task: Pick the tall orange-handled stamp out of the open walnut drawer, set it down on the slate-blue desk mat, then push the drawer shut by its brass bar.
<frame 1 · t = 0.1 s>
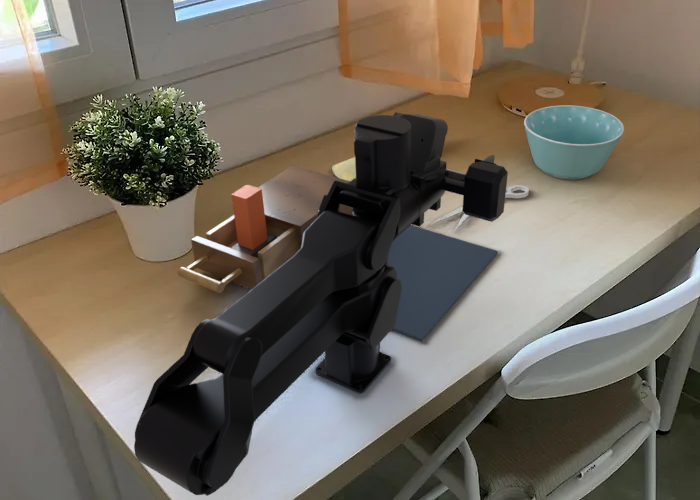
hand: (458, 150, 88), 17 cm above the table, tool horizontal, fingers open, 9 cm apart
scissors: (475, 204, 110), on the table
cabinet: (299, 229, 106), on the table
mat: (412, 276, 94), on the table
drawer: (244, 250, 96), point 3 cm above the table, slide at 8.0 cm, touching stamp
tool: (388, 160, 124), on the table
bowl: (566, 169, 119), on the table
stamp: (254, 251, 98), point 2 cm above the table, touching drawer
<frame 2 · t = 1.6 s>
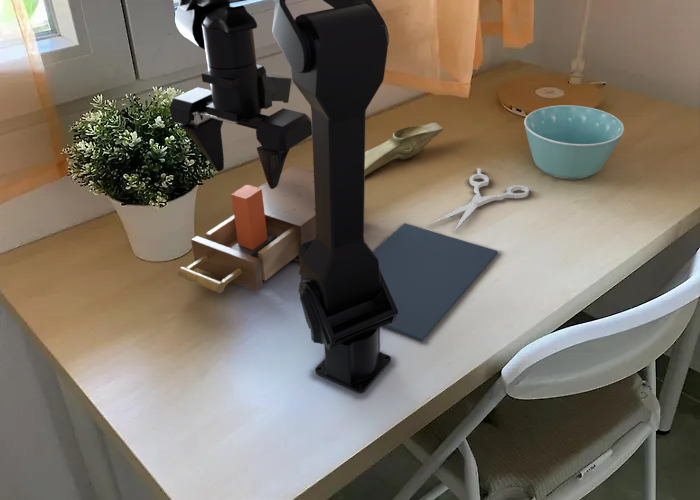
hand: (246, 178, 91), 13 cm above the table, tool pointing down, fingers open, 9 cm apart
nothing on the table moved.
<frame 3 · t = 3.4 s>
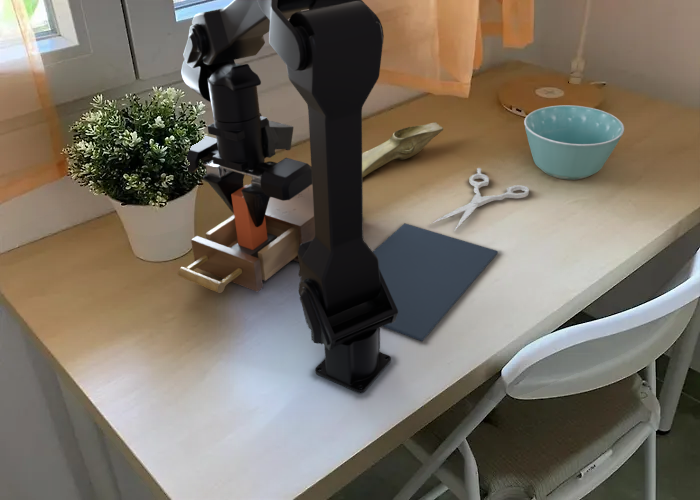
hand: (250, 222, 95), 7 cm above the table, tool pointing down, fingers closed on stamp, 3 cm apart
stamp: (254, 251, 98), point 2 cm above the table, touching drawer, gripper
everything else where it was.
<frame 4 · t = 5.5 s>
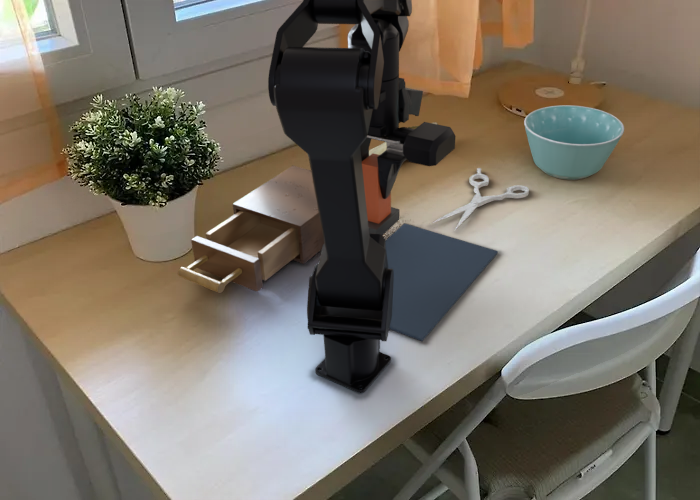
hand: (375, 194, 89), 12 cm above the table, tool pointing down, fingers closed on stamp, 3 cm apart
drawer: (244, 250, 96), point 3 cm above the table, slide at 8.0 cm
stamp: (376, 226, 91), point 7 cm above the table, touching gripper
everything else where it was.
when the fingers open (5 cm above the table, at t = 7.8 s): stamp stays where it is, resting on mat.
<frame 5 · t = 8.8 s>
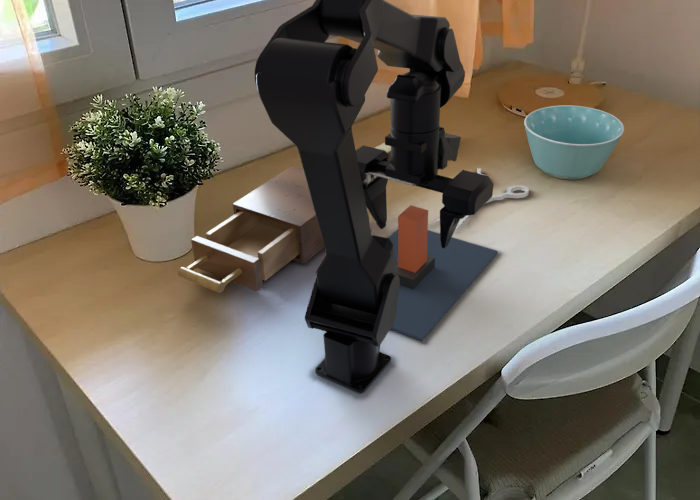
hand: (413, 236, 91), 6 cm above the table, tool pointing down, fingers open, 9 cm apart
stamp: (412, 274, 94), resting on mat
everything else where it was.
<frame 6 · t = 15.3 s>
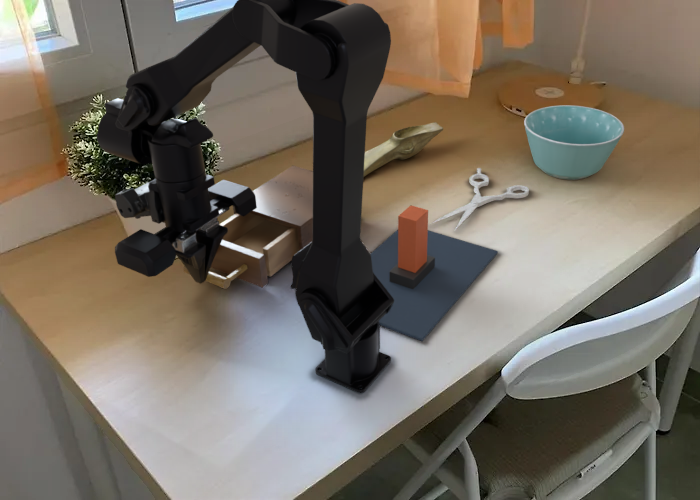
hand: (200, 281, 90), 3 cm above the table, tool pointing down, fingers closed
drawer: (249, 246, 96), point 3 cm above the table, slide at 6.9 cm, touching gripper
everything else where it was.
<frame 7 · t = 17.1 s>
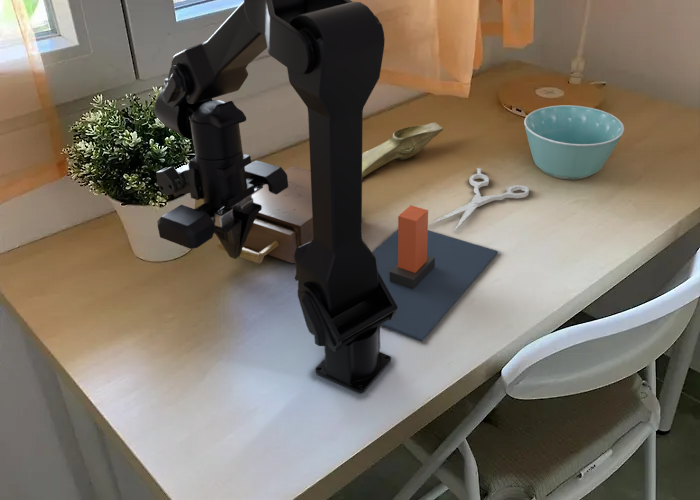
hand: (234, 256, 94), 3 cm above the table, tool pointing down, fingers closed
drawer: (279, 225, 101), point 3 cm above the table, slide at 0.4 cm, touching gripper
everything else where it was.
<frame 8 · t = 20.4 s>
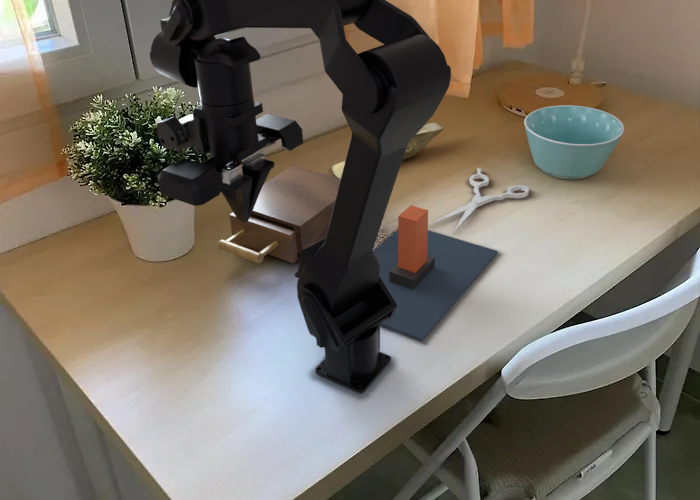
hand: (243, 220, 85), 12 cm above the table, tool pointing down, fingers closed
drawer: (279, 225, 101), point 3 cm above the table, slide at 0.3 cm
everything else where it was.
at the end: stamp inside the target area on the mat (0.0 cm from its centre), point 0.4 cm above the mat's base; stamp tilted 0°; drawer slide at 0.3 cm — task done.
